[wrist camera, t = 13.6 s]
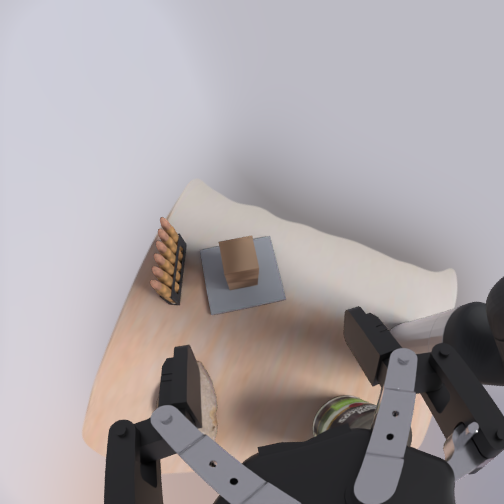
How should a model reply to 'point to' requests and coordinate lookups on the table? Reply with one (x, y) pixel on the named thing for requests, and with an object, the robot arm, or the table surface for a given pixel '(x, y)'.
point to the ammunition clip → (169, 264)
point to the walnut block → (239, 262)
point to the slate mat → (248, 296)
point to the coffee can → (346, 415)
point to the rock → (207, 404)
